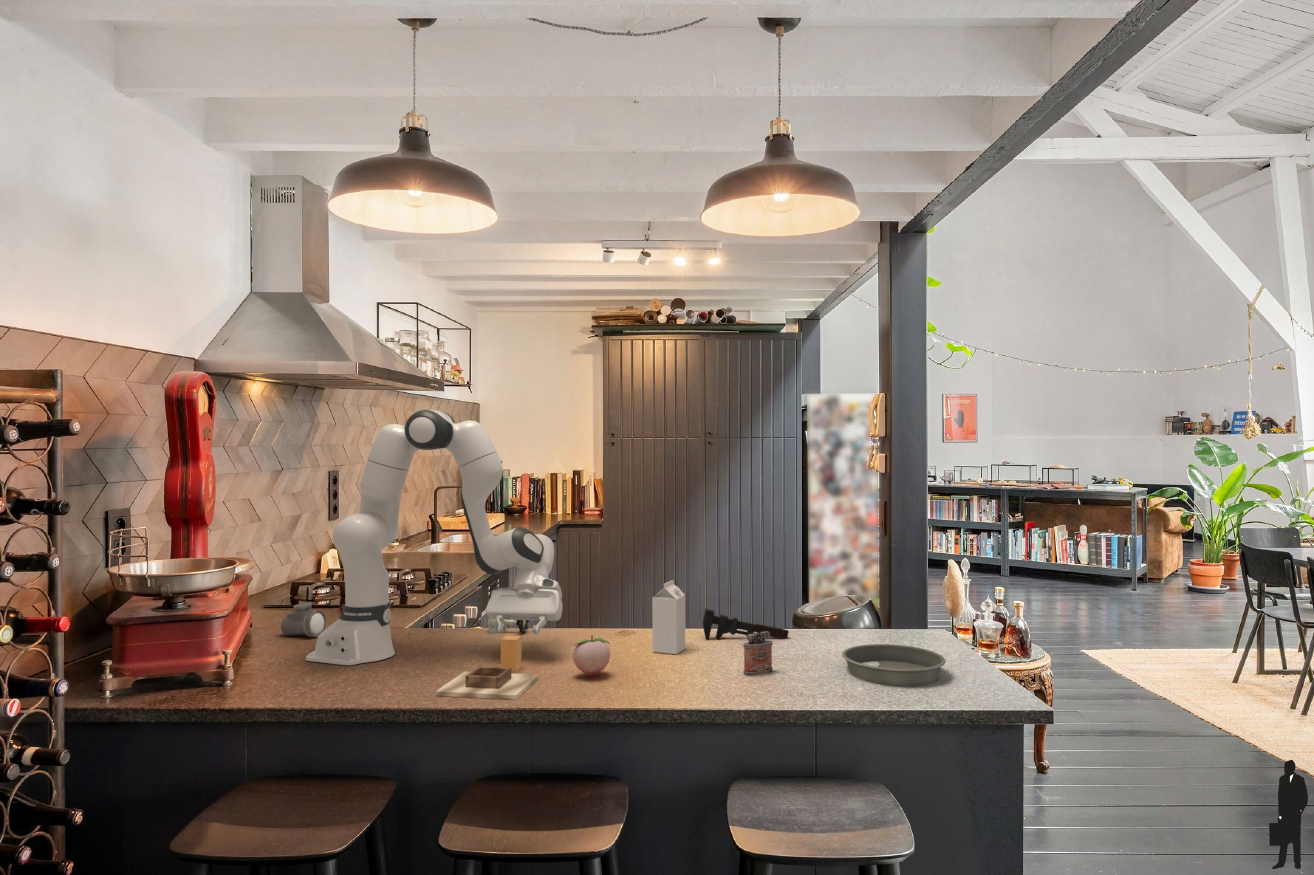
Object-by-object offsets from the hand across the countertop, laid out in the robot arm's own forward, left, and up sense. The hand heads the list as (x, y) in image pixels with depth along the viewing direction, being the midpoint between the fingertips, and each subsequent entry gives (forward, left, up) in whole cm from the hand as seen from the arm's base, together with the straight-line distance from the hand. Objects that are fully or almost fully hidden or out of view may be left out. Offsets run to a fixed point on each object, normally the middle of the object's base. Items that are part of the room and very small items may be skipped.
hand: (518, 632), depth 199 cm
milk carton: (+37, +19, -8) cm, 42 cm away
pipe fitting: (-75, +20, -8) cm, 78 cm away
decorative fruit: (+22, -8, -8) cm, 25 cm away
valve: (-15, +33, -9) cm, 38 cm away
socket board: (0, -20, -8) cm, 21 cm away
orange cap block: (0, -5, -8) cm, 10 cm away
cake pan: (+95, +6, -9) cm, 96 cm away
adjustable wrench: (+57, +36, -9) cm, 68 cm away
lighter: (+62, +1, -8) cm, 62 cm away
